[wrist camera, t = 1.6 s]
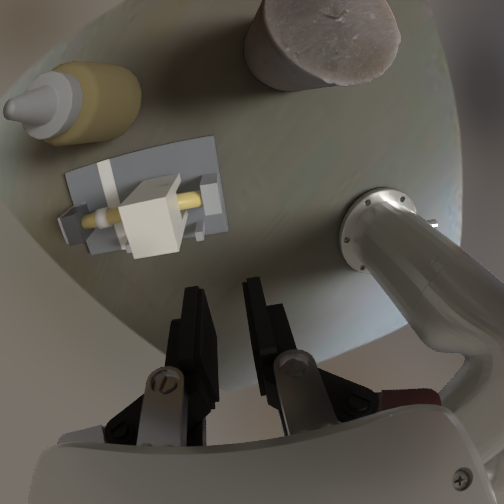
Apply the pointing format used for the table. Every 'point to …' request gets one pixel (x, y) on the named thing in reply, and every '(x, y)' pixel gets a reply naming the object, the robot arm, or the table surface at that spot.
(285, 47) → the pillar candle
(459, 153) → the table surface
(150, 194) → the white block
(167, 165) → the gray assembly board
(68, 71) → the squeeze bottle
